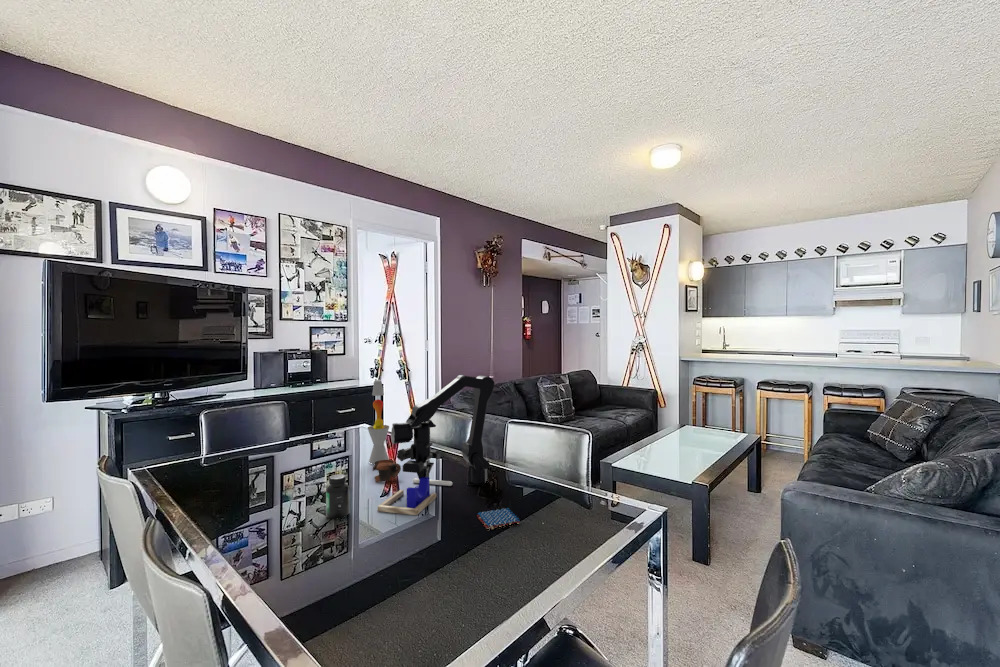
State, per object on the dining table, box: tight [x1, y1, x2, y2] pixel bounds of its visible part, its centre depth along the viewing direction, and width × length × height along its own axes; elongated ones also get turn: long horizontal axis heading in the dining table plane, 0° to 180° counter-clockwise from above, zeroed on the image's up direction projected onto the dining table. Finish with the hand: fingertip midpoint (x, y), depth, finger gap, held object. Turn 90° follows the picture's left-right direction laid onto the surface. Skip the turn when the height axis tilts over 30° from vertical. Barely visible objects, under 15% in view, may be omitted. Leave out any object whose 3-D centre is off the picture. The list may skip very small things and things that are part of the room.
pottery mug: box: [372, 459, 402, 483], centre depth 179 cm, size 12×10×8 cm
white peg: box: [412, 477, 453, 487], centre depth 172 cm, size 16×2×2 cm, turn 74°
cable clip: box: [406, 476, 431, 509], centre depth 155 cm, size 12×4×6 cm, turn 167°
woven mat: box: [476, 507, 521, 530], centre depth 139 cm, size 10×11×2 cm
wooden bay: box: [377, 489, 437, 516], centre depth 153 cm, size 13×15×2 cm
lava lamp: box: [367, 379, 390, 465], centre depth 201 cm, size 9×9×35 cm
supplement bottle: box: [325, 473, 351, 520], centre depth 144 cm, size 7×7×12 cm
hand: (422, 484), depth 164 cm, fingers closed
